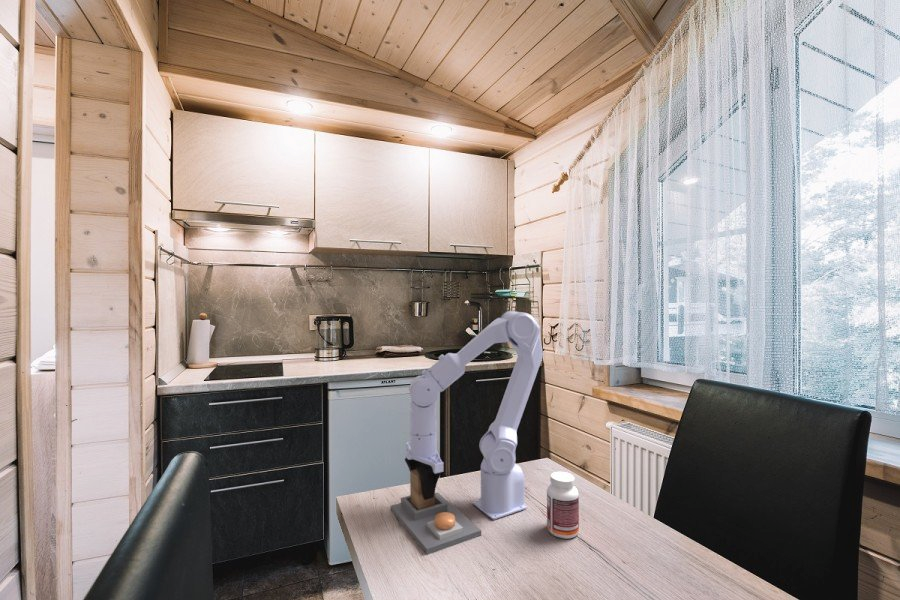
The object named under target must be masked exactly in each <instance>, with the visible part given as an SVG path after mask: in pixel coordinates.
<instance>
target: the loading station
mask: <svg viewBox="0 0 900 600" xmlns="http://www.w3.org/2000/svg"><path fill="white" fill-rule="evenodd" d="M389 508H390V512H391V513H392V514H393V515H394V516H395V517H396V519H397V520H398V521H399V522H400V524H401V525H402V526H403V527H404V528H405V530H406V531H407V532H408V533H409V535H410V536H411V537H412V538H413V539H414V540H415V542H416V543H417V544H418V545H419V547H420V548H421V550H423V551H424V553H425V554H426V555H430V554H432V553H436V552H438V551H441V550H443V549H446V548H449V547H452V546H455V545H459V544H462V543H463V542H466V541H469V540H472V539H474V538H477V537H480V536H482V529H481V528H480V527H478V526H477V525H476V524H475V523H474V522H473V521H472V520H471V519H469V518H468V517H467V516H466V515H464V514H463V512H461V511H460V510H459V509H458V508H457V507H456V506H454V505H453V504H452V503H451V502H450V501H448V499H446V498H445V497H444V496H443V495H442V494H441V493H439V492H435V506H432V507H428V508H425V509H421V510H417V509H416V508H415V507H414V505H413V504H412V503H411V494H409V495H407V496H404V497H403V496H402V497H400V502H398V503H396V504H393V505H392V504H391V505H390V507H389ZM442 512H448V513H452V514H453V515H454V516H455V525H454V526H453V527H452V528H450V529H440V528H438V527H436V526H435V516H436V515H437V514H439V513H442Z"/></svg>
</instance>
